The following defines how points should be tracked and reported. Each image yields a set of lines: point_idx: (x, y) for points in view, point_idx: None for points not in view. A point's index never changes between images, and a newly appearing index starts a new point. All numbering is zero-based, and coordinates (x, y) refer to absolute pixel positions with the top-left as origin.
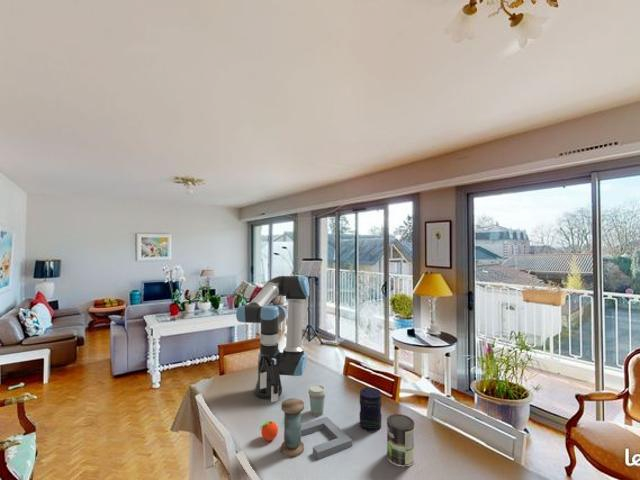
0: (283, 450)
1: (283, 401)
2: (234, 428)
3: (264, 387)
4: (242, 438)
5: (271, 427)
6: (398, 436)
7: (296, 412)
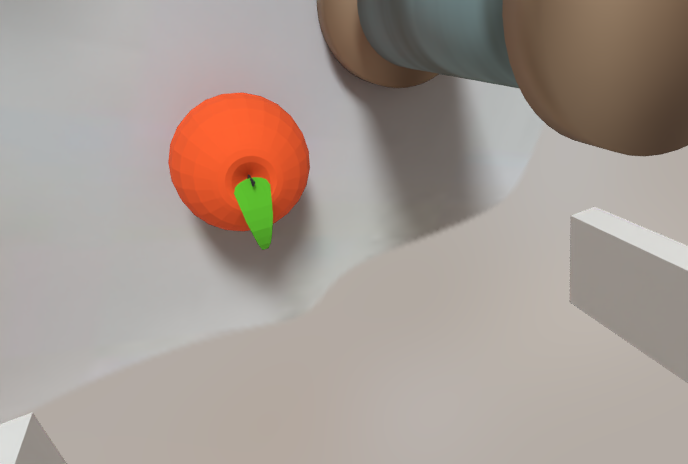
0: (430, 77)
1: (574, 112)
2: (44, 387)
3: (50, 451)
4: (186, 321)
5: (297, 164)
6: None
7: None
